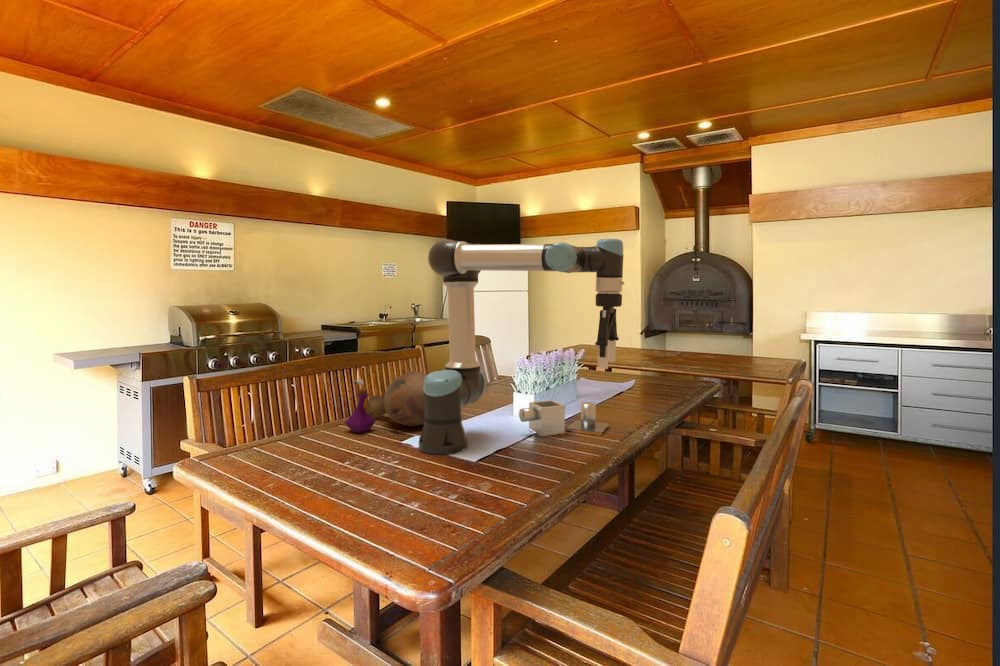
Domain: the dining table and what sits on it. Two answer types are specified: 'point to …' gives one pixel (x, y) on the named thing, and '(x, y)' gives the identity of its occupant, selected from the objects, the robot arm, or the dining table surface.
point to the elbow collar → (544, 417)
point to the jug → (401, 400)
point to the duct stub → (588, 419)
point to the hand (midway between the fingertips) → (606, 365)
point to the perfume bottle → (360, 413)
